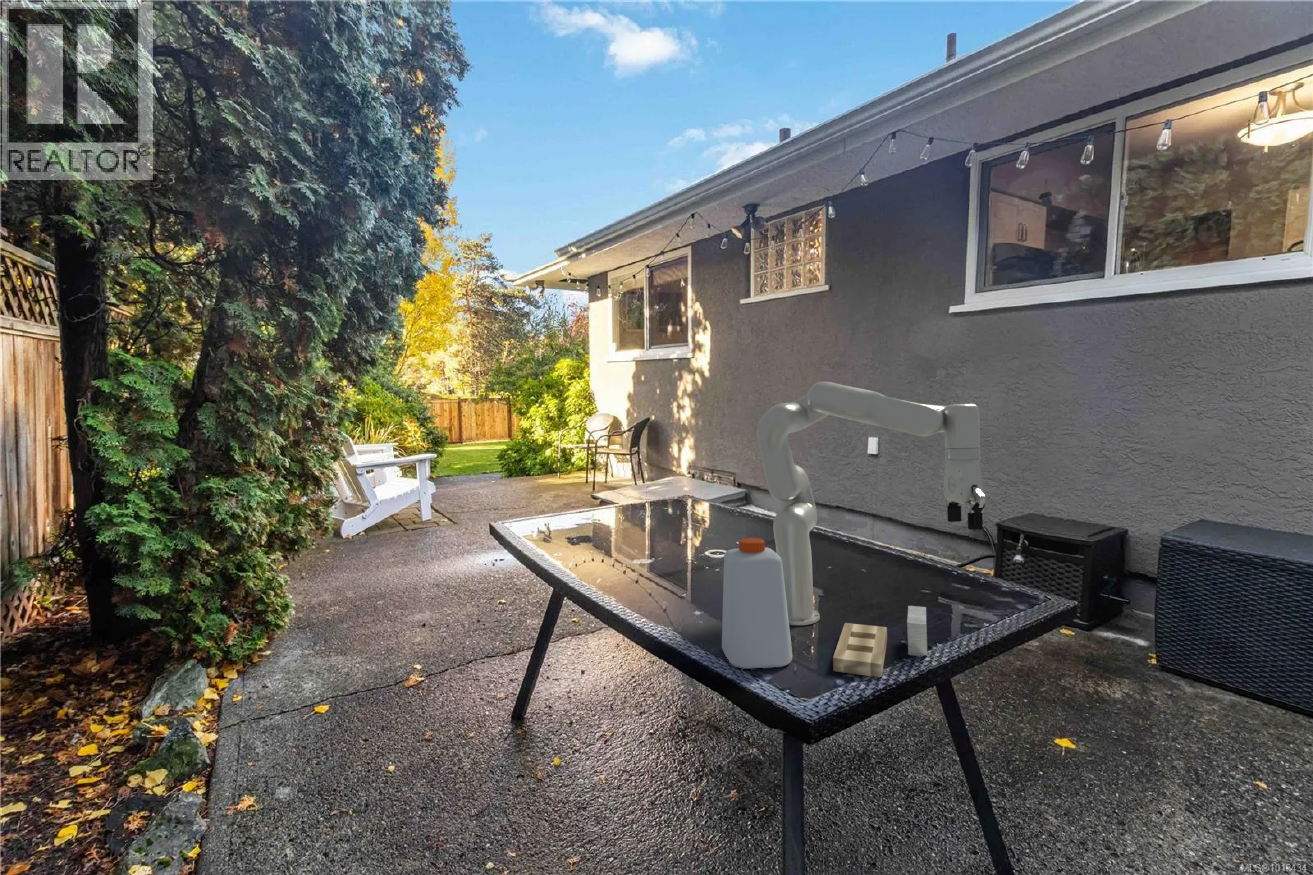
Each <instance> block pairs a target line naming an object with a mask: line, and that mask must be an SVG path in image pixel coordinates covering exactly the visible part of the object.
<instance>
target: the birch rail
mask: <svg viewBox="0 0 1313 875" xmlns="http://www.w3.org/2000/svg"><path fill="white" fill-rule="evenodd" d="M887 641H888V627H887V626H878V625H870V624H869V625H868V624H859V623H858V624H857V623H851V622H845V623H844V624H843V627H842V630H841V634H840V636H839V639H838V642H837V645H836V649H834V650H835V651H834V654H833V657H832V663H833V664H832V666H833V668H832V669H833V672H839V673H844V674H845V673H846V674H852V675H858V676H861V675H862V676H866V677H873V676H874V677H873V678H880V677H882V678H883V670H884V665H885V664H884V663H885V658H886V657H885V655H886V650H887V643H888V642H887Z"/></svg>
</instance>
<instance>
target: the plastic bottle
mask: <svg viewBox="0 0 1313 875" xmlns="http://www.w3.org/2000/svg"><path fill="white" fill-rule="evenodd" d="M765 545H766V542H765V540H764V539H763V538H758V537H746V538H742V539H740V540H739V541H738V548H730V549H728V550H726V551H725V552H724V554H723V555H724V556H723V586H722V587H723V590H722V623H721V625H722V626H721V649H722V651H723V653H724V655H725V657H727V658H726V660H727V659H728V660H729V662H731V663H732V664H735V665H737V666H740V667H743V668H763V669H772V668H774V667H775V668H782V667H786V666H788V665H789V664H790V663H791V662H792V660H793V648H792V640H791V630H790V625H789V620H788V611H787V601H786V592H785V583H784V574H783V565H782V559H781V557H780V556H779V555H778V554H777V553H776V551H774V550H773V549H772V548H770V547H768V546H767V547H766V546H765ZM728 660H727V661H728ZM729 662H728V663H729Z"/></svg>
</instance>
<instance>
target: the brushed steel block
mask: <svg viewBox="0 0 1313 875" xmlns="http://www.w3.org/2000/svg"><path fill="white" fill-rule="evenodd" d="M906 624H907V626H906V627H907V654H908V655H909V656H917V657H921V656H920V655H927V656H928V634H927V631H928V630H927V607H925V606H918V605H917V606H915V605H908V606H907V619H906Z"/></svg>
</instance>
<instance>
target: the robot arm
mask: <svg viewBox="0 0 1313 875" xmlns="http://www.w3.org/2000/svg"><path fill="white" fill-rule="evenodd" d="M828 416H832V417H837V418H841V419H846V420H850V421H855V422H859V423H861V424H865V425H868V426H876V427H880V428H884V429H888V430H893V431H896V432H902V433H906V434H908V435H909V434H910V435H915V436H918V437H931V436H933V435H935V434H939V433H940V434H941V433H944V447H945V450H944V454H945V456H944V457H945V458H944V459H945V462H944V470H943V471H944V472H943V497H944V499H946V502H945V503H946V508H947V511H946V513H947V514H946V515H947V521H948V522H950V523H956V522H957V523H959V522H962V505H964V504H966V507H967V510H968V512H967V529H968V530H969V531H970V530H971V531H974V530H976V531H977V530H978V531H979V530H983V529H984V524H983V522H984V521H983V520H984V519H983V517H984V516H983V513H984V511H985V510H984V508H985V506H986V505H985V504H986V500H987V496H986V495H985V494H984V492H983V480H982V477H983V476H982V471H981V464H980V462H981V461H982V460H981V458H982V457H981V429H980V426H981V425H980V420H981V419H980V408H979V406H978V405H976V404H974V403H957V404H956V403H955V404H949V405H938V404H937V405H936V404H924V403H918V402H914V401H913V402H912V401H908V400H903V399H898V398H894V397H890V396H888V395H885V394H882V393H880V392H877V391H874V390H869V389H866V388H865V389H864V388H860V387H854V386H851V385H850V386H849V385H844V384H839V383H836V382H832V381H825V380H824V381H818V382H815V383H814V384H812V386H811V387H810V388H809V389H808V391H807V393H806V394H804V395H803V396H801V397H799V398H797V399H795V400H794V401H791V402H782V403H777V404H775V405H773V406H771V407H770V408H769V409H768V410H767V411H765V412H764V414H763V415H762V416H761V418H760V420H759V422H758V424H757V428H756V440H757V445H758V449H759V450H758V451H759V454H760V459H761V463H762V467H763V471H764V476H765V480H766V485H767V489H768V492H769V494H770V496H771V497H772V498H773V499H774V500H776V501H778V502H781V505H782V508H780V509H779V511H778V512H776V514H775V517H774V519H773V523H772V524H773V526H772V528H773V536H774V543H775V549H776V550H775V553H777V554H778V555H779V556H780V557H781V559H782V565H783V574H784V583H785V592H786V601H787V611H788V620H789V626H808V625H812V624H813V625H814V624H815V623H817V622H819V620H820V618H821V617H820V612H818V611H817V610H816V609H814V587H813V586H814V585H813V584H814V583H813V579H814V578H813V562H812V560H813V559H812V557H813V556H812V548H811V547H812V546H811V539H810V532H811V531H812V530H813V529H814V528H815V527H816V524H817V523H818V511H817V506H816V502H815V498H814V494H813V490H812V487H811V482H810V479H809V476H808V474H807V473H806V471H805V470H804V469H803V468H802V467H801V466H799V465H797V464H795V462H794V458H793V452H792V448H791V446H790V444H789V441H788V436H789V434H793V433H797V432H801V431H803V430H804V429H806V428H808V427H810V426H812V425H813V424H815V423H817V422H819V421H821V420H823V419H825V418H826V417H828Z"/></svg>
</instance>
